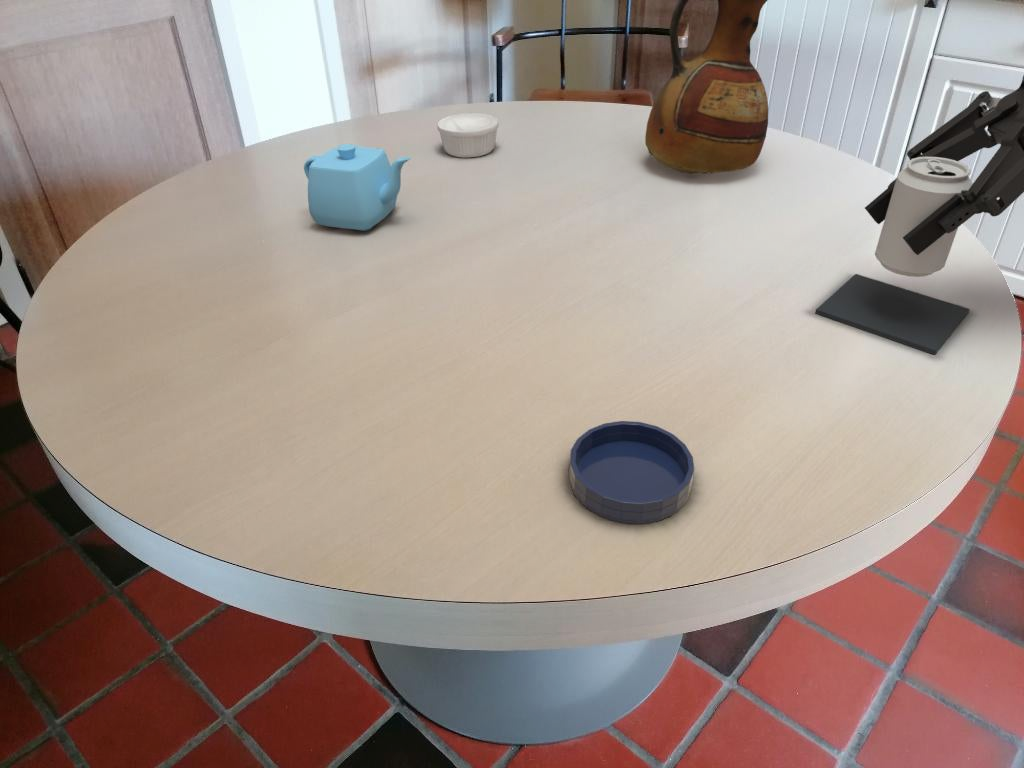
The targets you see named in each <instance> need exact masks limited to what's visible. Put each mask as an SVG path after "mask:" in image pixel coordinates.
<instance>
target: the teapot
mask: <svg viewBox="0 0 1024 768" xmlns="http://www.w3.org/2000/svg"><path fill="white" fill-rule="evenodd" d="M411 159H412V158H411V157H409V156H408V157H399V158H398V157H397V158H396V159H394V160H393V162H392V163H390V160H389V158H388V155H387V153H386V151H385V149H383V148H375V147H368V146H367V147H366V146H356V145H355V144H352V143H344V144H340V145H338V146H335V147H333V148H331V149H330V150H327V151H326V152H324V153H323V154H321V155H317V154H316V155H312V156H310V157H308V158H307V160H305V162H304V164H303V169H304V170H303V171H304V174H305V177H306V178H307V203H308V211H309V213H310V217H311V218H312V219H313V222H314V223H315V224H316V225H319V226H325V227H330V228H339V229H347V230H358V231H363V232H365V231H370V230H372V229H373V227H374V226H376V225H377V224H378V223H380V222H382V221H383V220H384V219H385V218H387V216H388V215H389V214H391V212H392V211H393V209H394V207H396V204H397V199H398V195H399V193H400V191H401V184H402V182H401V181H402V178H401V177H402V176H401V173H402V168H403V166H404V165H405V163H407V162H408V161H410V160H411Z"/></svg>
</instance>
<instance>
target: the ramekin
mask: <svg viewBox="0 0 1024 768" xmlns="http://www.w3.org/2000/svg"><path fill="white" fill-rule="evenodd" d="M498 129H499V120H498V119H497V118H496V117H495V116H493V115H490V114H485V113H476V112H475V113H473V112H471V113H470V112H469V113H468V112H467V113H458V114H453V115H452V114H451V115H449V116H446V117H444V118H442V119H440V120H439V121H438V122H437V131H438V132H439V135H440V140H441V143H442V148H443V150H444V151H445V152H446V153H447V154H448V155H450V156H452V157H456V158H464V159H465V158H467V159H468V158H477V157H482V156H486V155H488V154H490V153H491V152H492V151H493V150H494V148H495V145H496V139H497V132H498Z"/></svg>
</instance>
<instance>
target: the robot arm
mask: <svg viewBox="0 0 1024 768" xmlns="http://www.w3.org/2000/svg"><path fill="white" fill-rule="evenodd" d="M986 128H987V129H986ZM998 145H1000V146H999V148H998V149H997V150H996V152H995V153H994V155H993V156H992V157H991V158H990V160H989V161H988V163H987V164H986V165H985V167H984V168H983V169H982V171H981V172H980V174H979V175H978V176H977V177H976V179H975V180H974V182H972V183H973V184H972V186H971V187H970V188H969V190H964V191H963V190H962V191H961V194H962V196H963V197H964V200H962V198H961V197H960V196H959V195H957V194H956V195H955V196H953V197H952V198H951V199H950V200H948V201H947V202H946V203H944V204H943V205H942V206H941V207H940V208H938V209H937V210H936V211H935V212H933V213H932V214H931V215H930V216H928V217H927V218H926V219H925V220H924V221H922V222H921V223H920V224H919V225H917V226H916V227H915V228H914V229H912V230H911V231H910V232H909V233H908V234H906V235H905V236H904V237H903V239H904V240H905V242H906V243H907V244H908V245H909V247H910V248H911V249H912V251H913V252H914V253H915V254H917V255H919V254H920V253H921V252H923V251H924V250H925V249H926V248H928V247H929V246H930V245H931V244H933V243H934V242H935V241H936V240H938V239H939V238H940V237H941V236H943V235H944V234H945V233H950V232H953V231H954V230H955V229H957V228H958V229H959V228H960V227H961V226H962V225H963V224H964V223H966V222H967V221H969V219H971V218H972V217H973V216H975V215H979V214H982V213H985V214H989V215H990V216H991V217H997V216H1000V215H1001V214H1002V213H1004V211H1006V210H1007V208H1009V207H1010V206H1011V205H1012V204H1013V203H1014V202H1015V201H1016V200H1018V198H1019V197H1021V196H1022V194H1024V75H1023V76H1022V79H1021V82H1020V85H1019V87H1018V88H1017V89H1016V90H1014V91H1012V92H1010V93H1008V94H1006V95H1004V96H1003V97H1001V98H1000V97H993V96H992V95H991V93H990V92H989V90H984V91H982V92H980V93H978V95H977V96H976V97H975V98H974V99H973V100H972V101H971V103H969V105H968V106H966V108H964V109H963V110H961V111H960V112H958V114H956V115H955V116H953V117H952V118H951V119H949V120H948V121H947V122H945V123H943V124H942V125H941V126H940V127H939V128H937V129H936V130H935V131H933V132H932V133H930V134H929V135H927V136H926V137H925V138H923V139H922V140H921V141H919V142H918V143H917V144H915V145H914V146H913V147H911V148H910V149H909V150H908V151H907V152H906V156H907V157H908V159H909V161H910V160H911V159H914V158H918V157H940V158H947V159H951V160H955V161H958V162H960V161H961V160H963V159H965V158H967V157H968V156H970V155H973V154H975V153H976V152H978V151H980V150H983V149H991V148H994V147H996V146H998ZM896 179H897V177H896V178H895V179H893V180H892V181H891V182H890V183H889V184H888V185H887V188H886V189H884V190H883V191H882V192H881V193H880V194H879V195H877V196H876V197H875V198H874V199H873V200H872V201H870V202H869V203H868V204H867V205H866V206H865V207H864V209H865V211H866V212H867V213H868V214H869V216H870V217H871V218H872V219H873V221H874V222H875V223H876V224H877V225H880V224H881V223H884V220H885V217H886V213H887V210H888V206H889V203H890V200H891V196H892V193H893V189H894V186H895V182H896ZM958 229H957V230H958Z"/></svg>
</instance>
